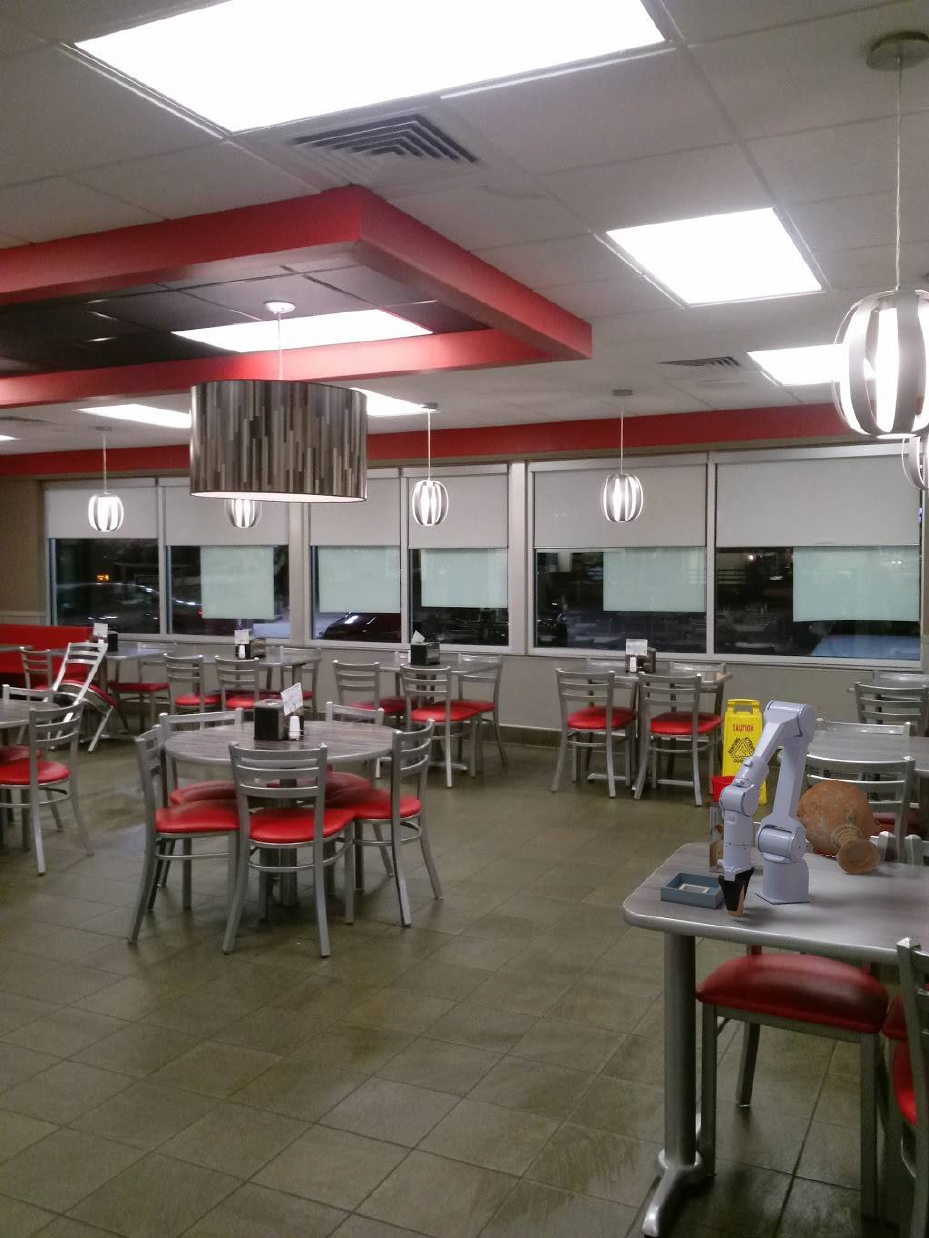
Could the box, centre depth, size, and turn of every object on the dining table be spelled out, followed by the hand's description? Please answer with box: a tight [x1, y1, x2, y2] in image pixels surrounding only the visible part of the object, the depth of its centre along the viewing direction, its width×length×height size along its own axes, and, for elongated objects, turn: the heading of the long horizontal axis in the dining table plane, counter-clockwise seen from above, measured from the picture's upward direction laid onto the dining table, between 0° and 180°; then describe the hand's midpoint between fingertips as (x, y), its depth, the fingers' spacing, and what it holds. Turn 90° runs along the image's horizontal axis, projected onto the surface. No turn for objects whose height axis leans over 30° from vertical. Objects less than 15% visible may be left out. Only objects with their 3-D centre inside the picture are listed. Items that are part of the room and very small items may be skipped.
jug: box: [796, 779, 882, 875], centre depth 263 cm, size 20×19×30 cm
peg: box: [727, 886, 745, 918], centre depth 220 cm, size 3×3×7 cm
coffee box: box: [708, 801, 725, 874], centre depth 252 cm, size 9×6×16 cm
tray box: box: [660, 870, 724, 910], centre depth 232 cm, size 14×12×3 cm
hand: (735, 905), depth 220 cm, fingers open, 7 cm apart
